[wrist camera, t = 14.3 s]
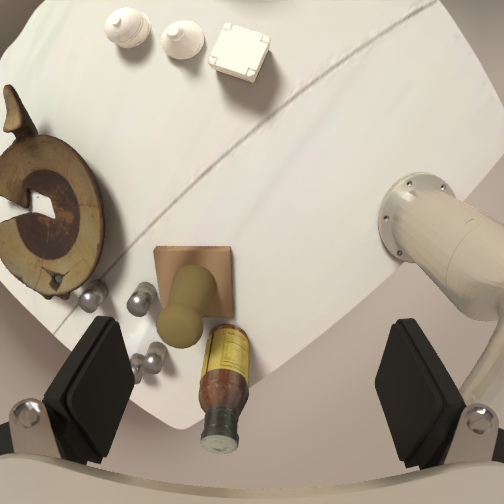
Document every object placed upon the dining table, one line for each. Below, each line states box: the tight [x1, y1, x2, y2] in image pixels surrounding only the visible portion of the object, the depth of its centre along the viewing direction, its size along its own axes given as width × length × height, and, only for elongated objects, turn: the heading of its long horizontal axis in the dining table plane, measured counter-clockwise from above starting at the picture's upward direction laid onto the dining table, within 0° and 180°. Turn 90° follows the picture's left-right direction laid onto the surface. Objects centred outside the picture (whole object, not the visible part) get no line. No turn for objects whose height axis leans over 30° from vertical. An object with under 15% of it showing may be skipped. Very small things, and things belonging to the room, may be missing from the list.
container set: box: [105, 8, 271, 83], centre depth 29 cm, size 20×5×6 cm, turn 68°
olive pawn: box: [156, 265, 217, 349], centre depth 37 cm, size 6×6×11 cm
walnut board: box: [153, 246, 233, 317], centre depth 43 cm, size 10×10×2 cm
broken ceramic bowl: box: [0, 84, 105, 300], centre depth 35 cm, size 22×30×8 cm
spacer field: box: [78, 280, 167, 384], centre depth 45 cm, size 11×17×4 cm, turn 0°
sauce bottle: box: [199, 324, 249, 454], centre depth 38 cm, size 7×6×20 cm
